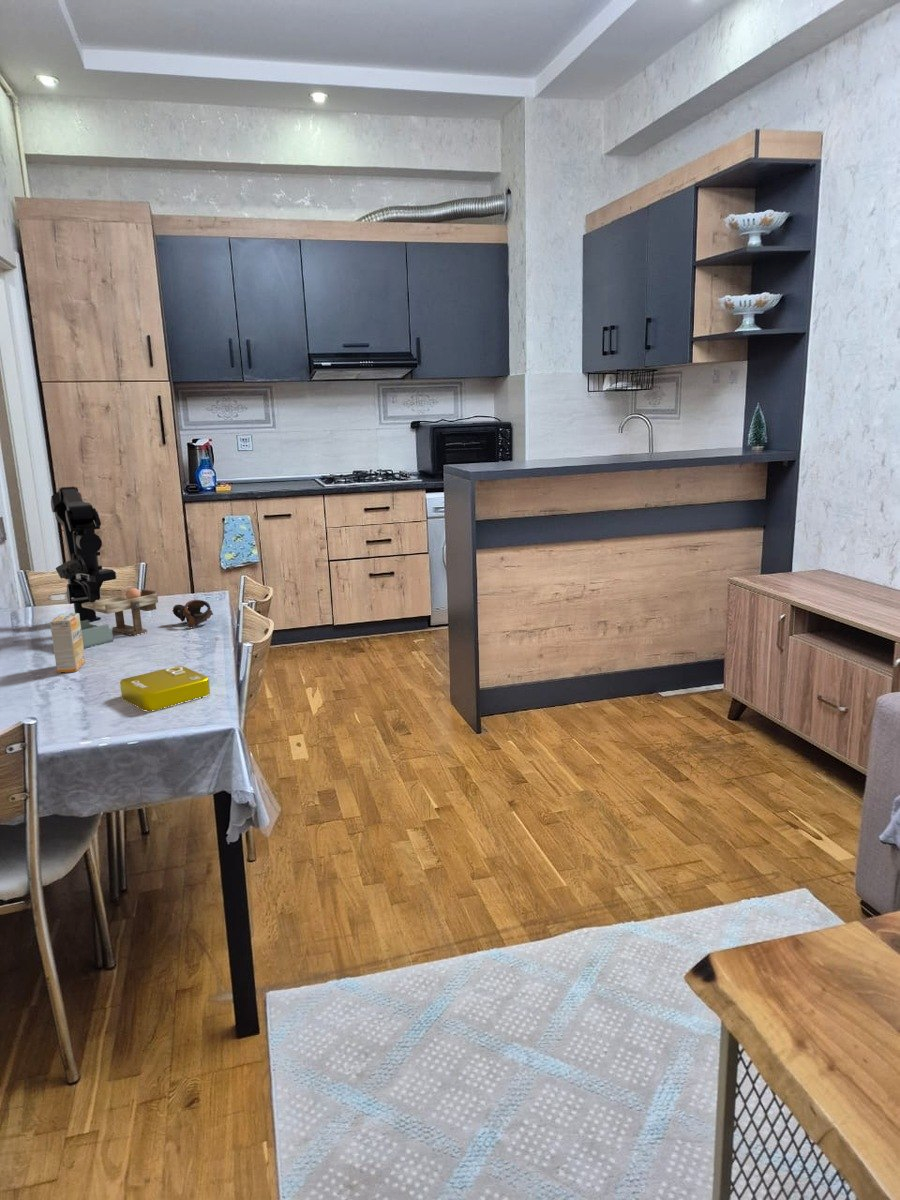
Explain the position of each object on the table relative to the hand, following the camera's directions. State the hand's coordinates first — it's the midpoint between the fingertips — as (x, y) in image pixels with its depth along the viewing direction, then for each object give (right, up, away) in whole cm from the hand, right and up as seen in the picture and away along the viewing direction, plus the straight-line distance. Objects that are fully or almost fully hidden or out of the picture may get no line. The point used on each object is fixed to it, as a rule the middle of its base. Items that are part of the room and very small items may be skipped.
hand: (92, 602), depth 230 cm
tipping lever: (+7, -3, +2) cm, 8 cm away
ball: (+12, +2, 0) cm, 12 cm away
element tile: (+41, -21, -55) cm, 71 cm away
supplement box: (+9, -16, -32) cm, 37 cm away
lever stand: (+10, -9, +1) cm, 14 cm away
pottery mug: (+27, -7, +8) cm, 29 cm away
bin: (+2, -11, -10) cm, 15 cm away
